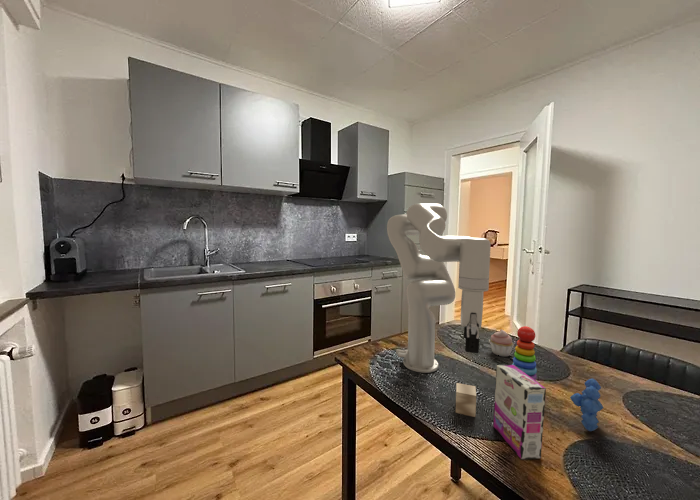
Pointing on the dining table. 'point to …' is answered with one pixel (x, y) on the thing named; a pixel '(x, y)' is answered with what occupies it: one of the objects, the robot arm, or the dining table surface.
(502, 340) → the cupcake
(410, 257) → the robot arm
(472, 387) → the beech block
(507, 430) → the candy bar box
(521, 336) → the stacking toy
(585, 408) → the grapes
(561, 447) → the dining table surface
